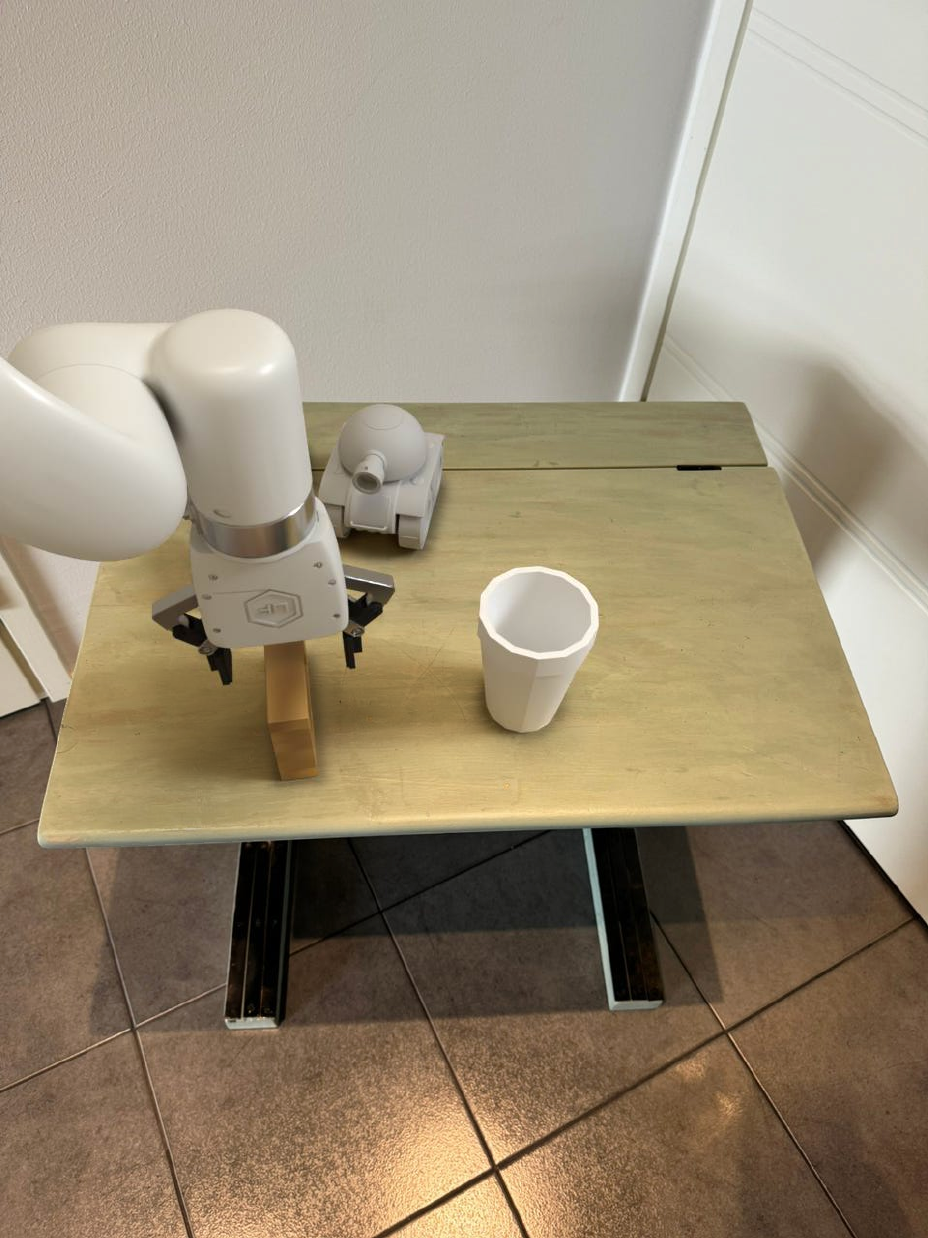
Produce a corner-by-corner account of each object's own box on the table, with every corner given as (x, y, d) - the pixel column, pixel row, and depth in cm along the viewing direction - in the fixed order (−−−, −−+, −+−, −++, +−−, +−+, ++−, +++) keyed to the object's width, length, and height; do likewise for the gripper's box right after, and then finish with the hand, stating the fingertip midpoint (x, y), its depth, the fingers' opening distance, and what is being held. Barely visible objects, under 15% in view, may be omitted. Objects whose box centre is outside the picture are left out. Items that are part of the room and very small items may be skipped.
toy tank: (420, 570, 84) (421, 472, 74) (318, 554, 85) (306, 455, 75) (444, 473, 94) (449, 375, 84) (353, 460, 95) (346, 361, 84)
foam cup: (560, 656, 79) (583, 562, 68) (584, 741, 73) (613, 652, 63) (461, 666, 77) (469, 571, 67) (478, 753, 72) (489, 664, 61)
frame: (281, 781, 69) (267, 723, 62) (274, 664, 76) (261, 601, 69) (318, 776, 69) (308, 718, 62) (307, 660, 77) (297, 597, 70)
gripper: (111, 564, 50) (176, 717, 63) (398, 533, 52) (403, 686, 66) (119, 480, 54) (178, 639, 68) (383, 455, 57) (390, 613, 70)
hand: (289, 662), depth 67 cm, fingers open, 9 cm apart
